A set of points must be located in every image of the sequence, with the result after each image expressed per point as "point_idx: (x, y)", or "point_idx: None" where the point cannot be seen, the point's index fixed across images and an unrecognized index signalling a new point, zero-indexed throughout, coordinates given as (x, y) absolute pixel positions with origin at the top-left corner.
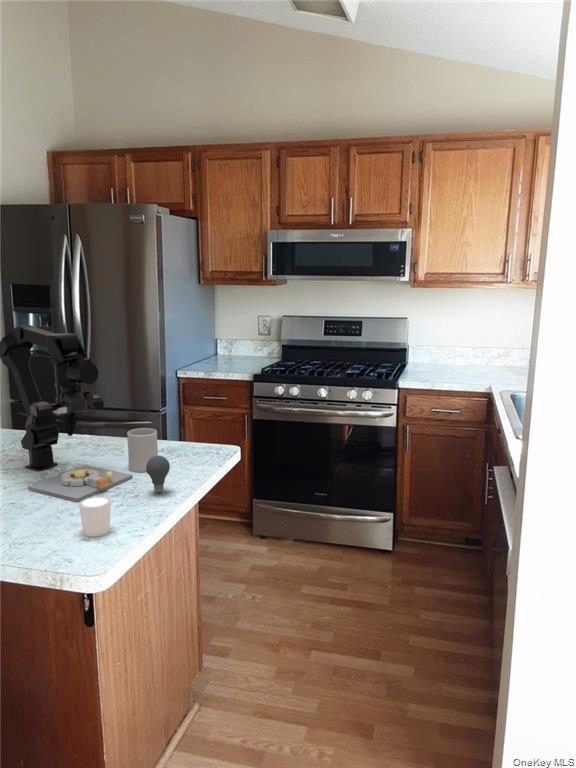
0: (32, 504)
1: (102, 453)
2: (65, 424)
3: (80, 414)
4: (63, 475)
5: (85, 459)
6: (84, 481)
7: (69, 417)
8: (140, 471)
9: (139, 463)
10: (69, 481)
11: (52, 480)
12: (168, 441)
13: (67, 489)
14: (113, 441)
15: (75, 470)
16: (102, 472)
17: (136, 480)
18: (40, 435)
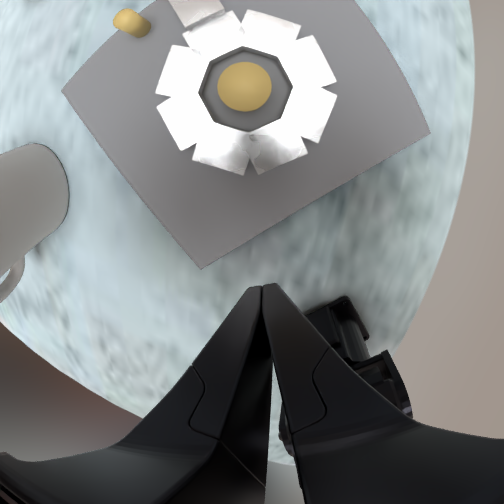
0: (420, 6)
1: (150, 356)
2: (341, 366)
3: (61, 462)
4: (315, 121)
5: (196, 337)
6: (238, 21)
7: (256, 472)
8: (41, 145)
9: (24, 151)
10: (302, 38)
11: (350, 145)
12: (30, 347)
13: (313, 13)
14: (134, 402)
15: (262, 103)
16: (145, 151)
17: (63, 68)
18: (381, 391)
